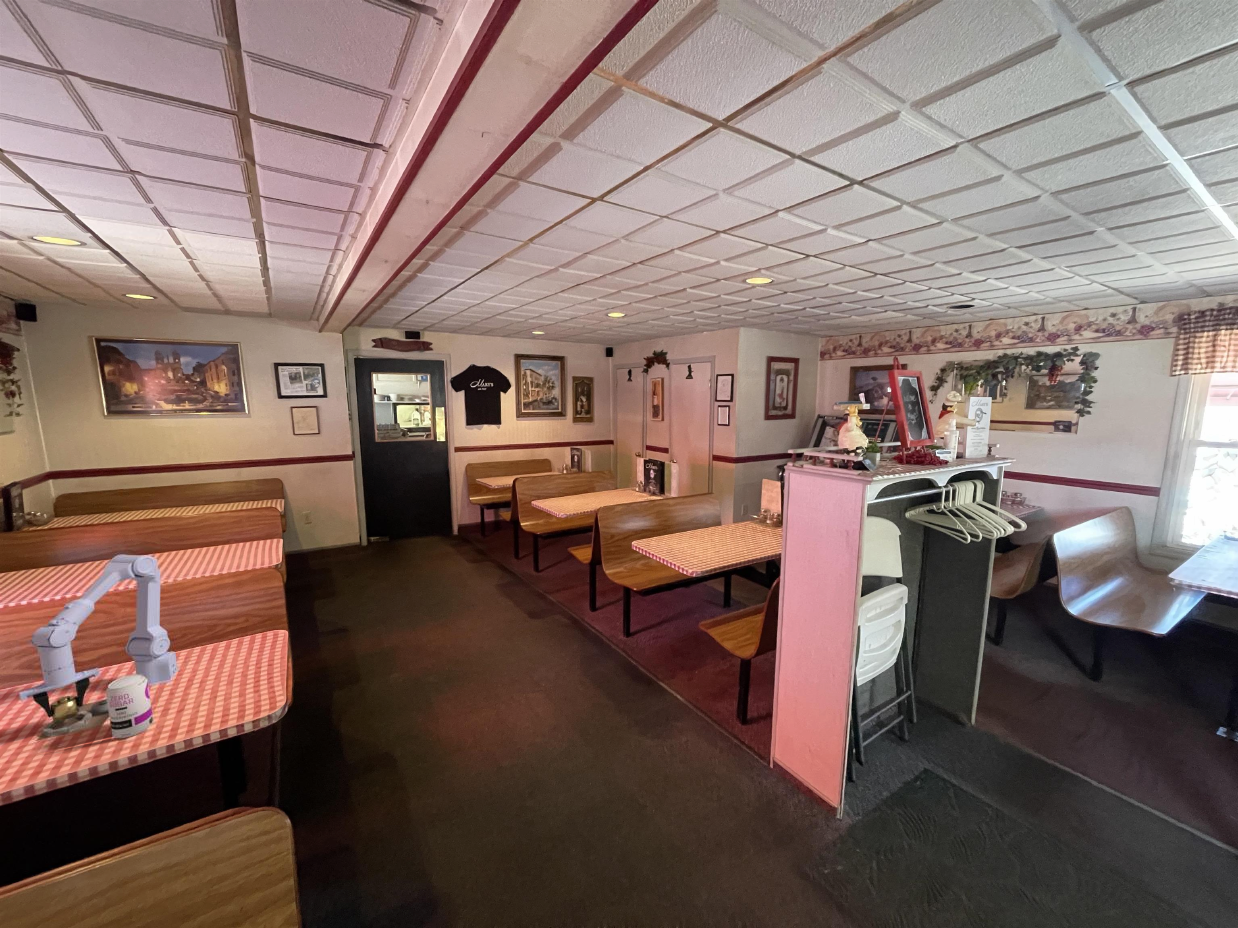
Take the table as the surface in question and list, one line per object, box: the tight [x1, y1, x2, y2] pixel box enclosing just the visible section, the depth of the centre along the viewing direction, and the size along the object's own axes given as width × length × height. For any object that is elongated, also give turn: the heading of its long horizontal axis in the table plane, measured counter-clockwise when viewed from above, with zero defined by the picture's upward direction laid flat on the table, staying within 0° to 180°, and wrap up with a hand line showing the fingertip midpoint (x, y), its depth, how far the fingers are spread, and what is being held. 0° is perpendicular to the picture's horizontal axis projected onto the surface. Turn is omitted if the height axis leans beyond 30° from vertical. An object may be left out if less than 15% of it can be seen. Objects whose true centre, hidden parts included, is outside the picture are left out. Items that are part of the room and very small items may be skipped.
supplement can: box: [105, 673, 154, 739], centre depth 133 cm, size 8×8×15 cm
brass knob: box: [50, 695, 80, 721], centre depth 134 cm, size 5×5×5 cm
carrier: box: [35, 698, 110, 742], centre depth 139 cm, size 13×16×4 cm
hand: (65, 710), depth 134 cm, fingers closed on brass knob, 5 cm apart
